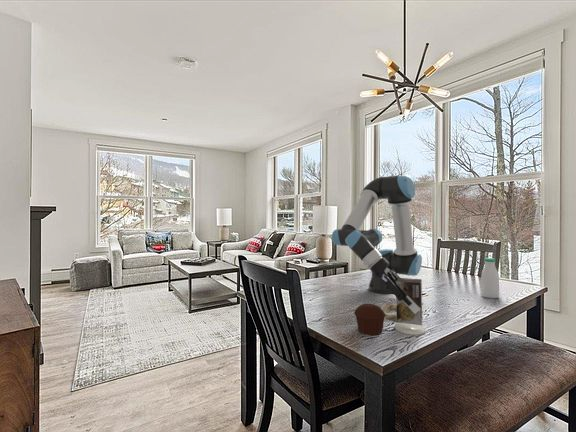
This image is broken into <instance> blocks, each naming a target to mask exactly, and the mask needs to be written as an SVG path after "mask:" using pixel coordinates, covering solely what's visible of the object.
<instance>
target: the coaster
mask: <svg viewBox="0 0 576 432" xmlns="http://www.w3.org/2000/svg"><path fill="white" fill-rule="evenodd" d="M394 329H395V330H396V331H397V332H399V333H402V334H405V335H411V336H418V335H424V334H425V333H426V327H424V326H423V325H415V324H407V323H398V322H397V323H396V324H394Z"/></svg>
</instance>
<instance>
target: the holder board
mask: <svg viewBox="0 0 576 432" xmlns="http://www.w3.org/2000/svg"><path fill="white" fill-rule="evenodd" d="M380 308H381V309H382V310H383V312H384V313H385V317H384V320H391V321H396V320H397V314H393V313H389V312H390V311H391V310H396V303H389V302H384V304H382V306H381V307H380Z"/></svg>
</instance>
